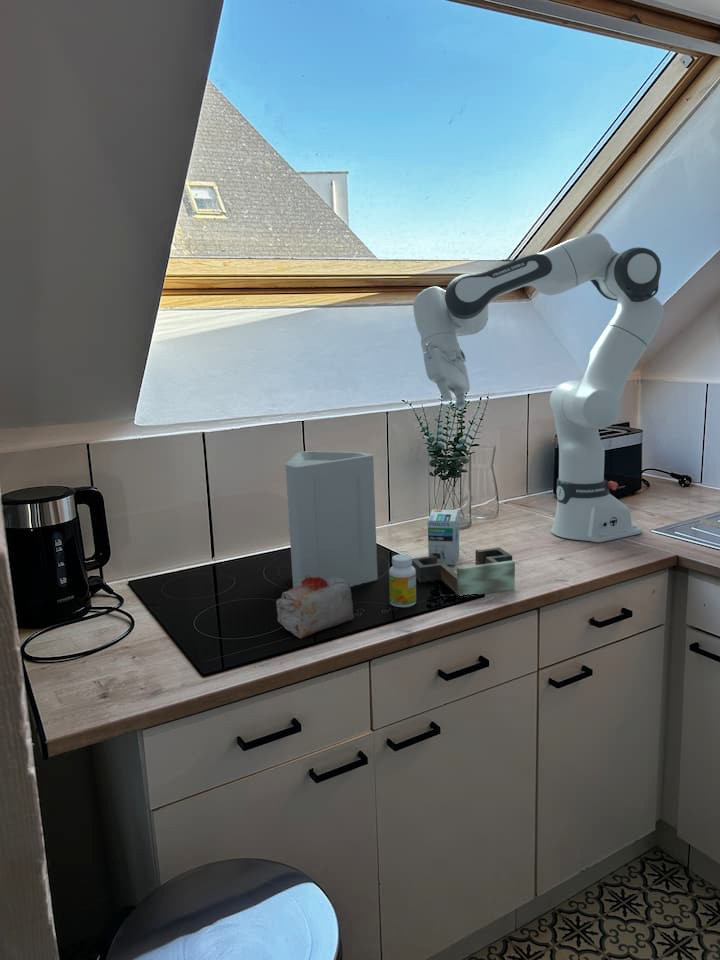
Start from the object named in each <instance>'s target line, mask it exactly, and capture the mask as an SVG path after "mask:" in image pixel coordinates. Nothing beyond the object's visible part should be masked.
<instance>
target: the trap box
mask: <svg viewBox="0 0 720 960" xmlns="http://www.w3.org/2000/svg"><path fill="white" fill-rule="evenodd" d="M411 566H413V567H414V568H415V570H416V581H418V582H419V583H420V584H421V583H422V582H424V583H427V582H426V581H431V582H436V581H435V580H439V581H441V580H442V581H443V582H444V583H445V584H444V583H443V582H442V581H441V582H442V583H443V584H444V585H446V584H447V585H448V586H449V587H450V588H451V589H452V590H453V591H454V592H455V593H456V594H455V593H454V592H453V591H452V590H451V589H450V588H449V587H448V586H447V585H446V586H447V587H448V588H449V589H450V590H451V591H452V592H453V593H454V594H455V595H457V594H458V595H459V596H463V595H468V594H469V595H471V594H478V595H485V594H492V593H498V592H499V593H500V592H506V591H513V590H516V589H515V588H516V586H515V583H516V582H515V581H516V578H515V577H516V573H515V572H516V562H515V561H514V560H513V555H512V554H510V553H509V552H508V551H506V550H504V549H503V548H501V547H493V548H485V549H475V564H473V565H467V566H459V567H457V568H456V572H455V571H454V570H453V569H452V568H451V567H449V565H446V564H445V563H437V557H436V556H435V555H432V556H428V555H427V556H421V557H414V558H413V557H412V565H411ZM458 595H457V596H458ZM459 596H458V597H459ZM471 596H472V595H471Z"/></svg>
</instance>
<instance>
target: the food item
mask: <svg viewBox="0 0 720 960" xmlns="http://www.w3.org/2000/svg"><path fill="white" fill-rule="evenodd" d="M301 582H302V585H301V586H298V587H295V588H293V587H292V588H290V589H288V590H287V591H283V592H282V594H281V597H280V598H277V600H276V601H275V603H276V613H277V618H276V619H277V622H278V623H279V624H280V625H281V626H283V627H284V629H285V630H286V631H288V632H290V633H291V634H293V636H295V637H297V638H299V639H304V638H306V637H308V636H311V635H313V634H315V633H318V632H321V631H323V630H326V629H329V628H333V627H336V626H338V625H341V624H344V623H346V622H349V621H352V620H354V619H355V615H354V613H353V612H354V603H353V596H352V595H353V594H352V591H351V590H352V589H351V587H350V584H349V582H346V581H345V580H344V579H343V578H341V577H338V576H333V577H330V578H326V579H322V578H321V577H318V578H317V577H315V578H312V577H310V576H309V575H308V574H307V575H306V576H305V579H304V580H303V581H301Z"/></svg>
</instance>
